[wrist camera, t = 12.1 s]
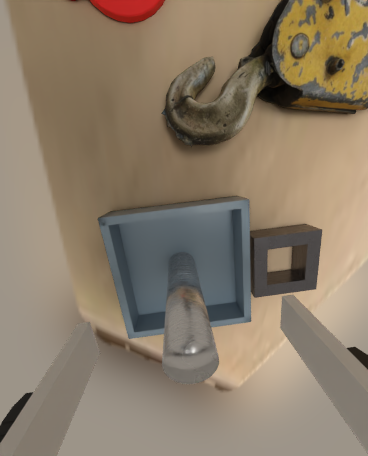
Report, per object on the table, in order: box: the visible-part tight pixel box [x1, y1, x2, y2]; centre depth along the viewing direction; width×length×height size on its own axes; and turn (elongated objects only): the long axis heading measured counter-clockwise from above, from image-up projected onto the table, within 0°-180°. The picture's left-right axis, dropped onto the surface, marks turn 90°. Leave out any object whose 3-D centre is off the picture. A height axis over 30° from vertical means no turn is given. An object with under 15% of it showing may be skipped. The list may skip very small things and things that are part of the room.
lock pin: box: [162, 252, 219, 384], centre depth 16 cm, size 3×3×12 cm
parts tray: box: [98, 196, 251, 339], centre depth 21 cm, size 15×15×4 cm
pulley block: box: [161, 0, 368, 147], centre depth 15 cm, size 14×6×30 cm
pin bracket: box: [250, 224, 322, 297], centre depth 22 cm, size 8×8×2 cm
